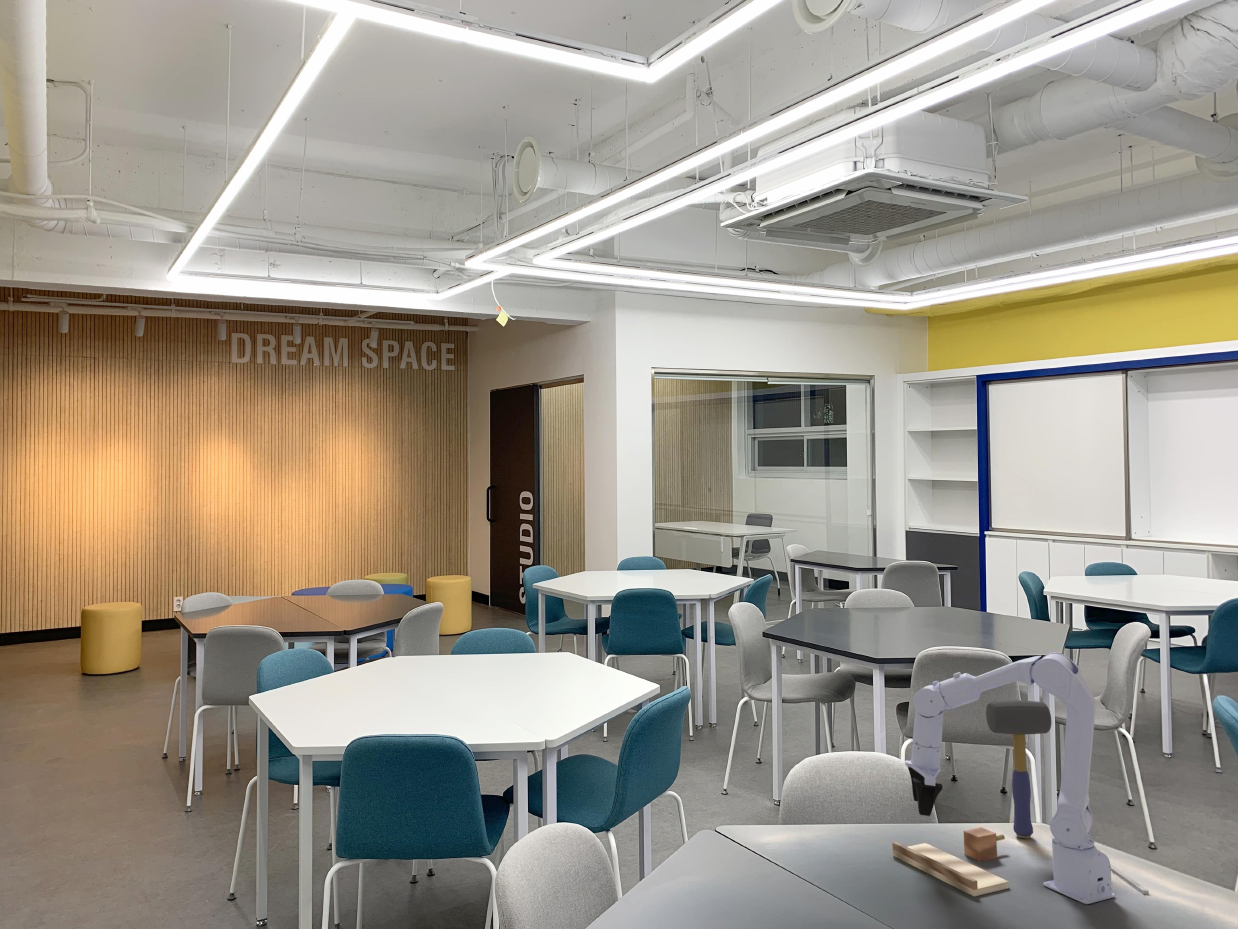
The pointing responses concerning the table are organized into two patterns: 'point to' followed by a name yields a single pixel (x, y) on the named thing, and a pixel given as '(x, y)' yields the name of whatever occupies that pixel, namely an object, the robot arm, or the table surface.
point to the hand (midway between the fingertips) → (921, 808)
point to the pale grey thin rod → (1129, 880)
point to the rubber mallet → (1019, 749)
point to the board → (950, 869)
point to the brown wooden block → (981, 844)
